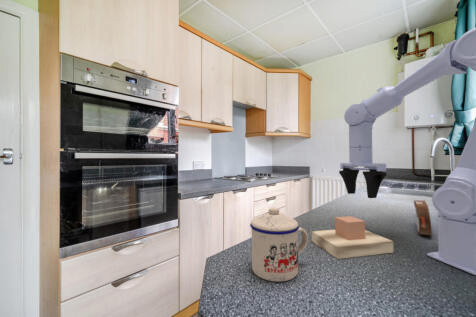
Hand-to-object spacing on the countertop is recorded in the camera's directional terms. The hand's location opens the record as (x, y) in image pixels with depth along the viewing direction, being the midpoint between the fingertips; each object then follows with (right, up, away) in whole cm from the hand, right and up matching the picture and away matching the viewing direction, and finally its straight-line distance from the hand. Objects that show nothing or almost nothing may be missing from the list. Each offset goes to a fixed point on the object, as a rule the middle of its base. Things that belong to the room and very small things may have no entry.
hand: (361, 195), depth 61 cm
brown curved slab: (+18, -11, +1) cm, 21 cm away
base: (-8, -10, -10) cm, 17 cm away
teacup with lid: (-27, -11, -20) cm, 35 cm away
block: (-8, -8, -10) cm, 15 cm away
